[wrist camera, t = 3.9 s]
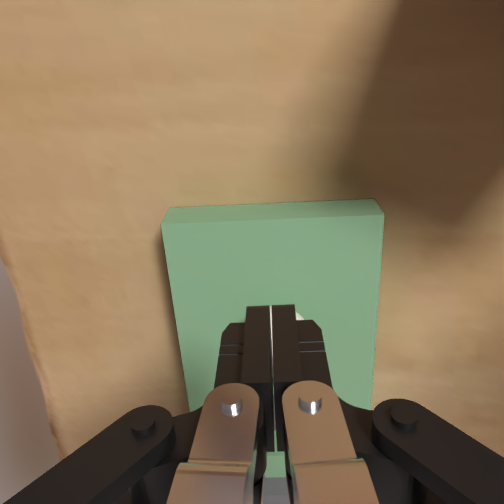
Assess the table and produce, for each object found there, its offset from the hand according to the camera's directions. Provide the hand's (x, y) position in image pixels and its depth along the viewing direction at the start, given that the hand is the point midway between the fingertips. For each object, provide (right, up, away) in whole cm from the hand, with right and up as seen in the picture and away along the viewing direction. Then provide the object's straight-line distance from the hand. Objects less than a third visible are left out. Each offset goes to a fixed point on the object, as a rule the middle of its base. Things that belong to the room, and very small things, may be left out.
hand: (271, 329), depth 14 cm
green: (+1, -4, +17) cm, 17 cm away
